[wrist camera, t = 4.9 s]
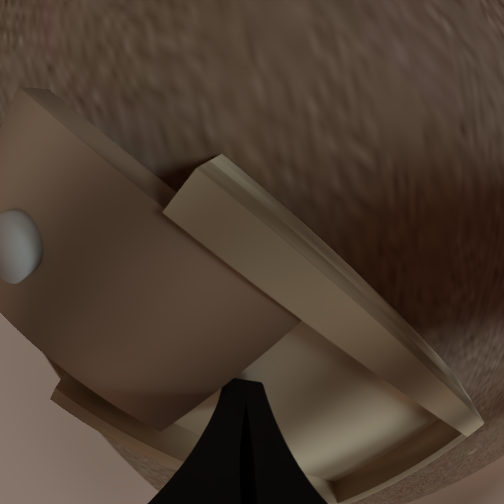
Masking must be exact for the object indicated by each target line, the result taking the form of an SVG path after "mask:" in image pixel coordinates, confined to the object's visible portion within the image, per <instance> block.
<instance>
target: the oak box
mask: <svg viewBox="0 0 504 504" xmlns="http://www.w3.org/2000/svg"><path fill="white" fill-rule="evenodd" d="M162 213H164V214H165V215H166V216H167V217H169V218H170V219H171V220H172V221H174V222H175V223H176V224H177V225H179V226H180V227H181V228H182V229H184V230H185V231H186V232H188V233H189V234H190V235H191V236H193V237H194V238H195V239H196V240H198V241H199V242H200V243H202V244H203V245H204V246H205V247H207V248H208V249H209V250H210V251H212V252H213V253H214V254H216V255H217V256H218V257H220V258H221V259H222V260H223V261H225V262H226V263H227V264H229V265H230V266H231V267H232V268H234V269H235V270H236V271H238V272H239V273H240V274H242V275H243V276H244V277H245V278H247V279H248V280H249V281H251V282H252V283H253V284H255V285H256V286H257V287H259V288H260V289H261V290H263V291H264V292H265V293H267V294H268V295H269V296H270V297H272V298H273V299H274V300H276V301H277V302H278V303H280V304H281V305H282V306H284V307H285V308H286V309H288V310H289V311H290V312H292V313H293V314H294V315H296V316H297V317H299V318H300V319H301V320H302V321H301V322H300V323H299V324H298V325H296V326H295V327H294V328H293V329H292V330H291V331H290V332H289V333H287V334H286V335H285V336H284V337H283V338H282V339H281V340H279V341H278V342H277V343H276V344H275V345H274V346H272V347H271V348H270V349H269V350H268V351H266V352H265V353H264V354H263V355H262V356H260V357H259V358H258V359H257V360H256V361H254V362H253V363H252V364H251V365H250V366H248V367H247V368H246V369H245V370H243V371H242V372H241V373H240V374H238V375H237V376H236V377H235V378H238V379H244V380H250V381H257V382H262V383H263V385H264V388H265V392H266V395H267V398H268V401H269V404H270V407H271V409H272V412H273V415H274V417H275V420H276V422H277V424H278V426H279V429H280V431H281V433H282V435H283V437H284V439H285V441H286V443H287V445H288V447H289V449H290V451H291V453H292V454H293V456H294V458H295V460H296V461H297V463H298V465H299V466H300V468H301V469H302V471H303V472H304V474H305V475H306V477H307V478H308V480H309V481H310V482H311V484H312V485H313V486H314V488H315V489H316V490H317V492H318V493H319V494H320V495H321V496H322V497H323V498H324V500H325V501H326V502H327V503H328V504H351V503H353V502H356V501H358V500H360V499H363V498H365V497H367V496H369V495H372V494H374V493H376V492H378V491H380V490H382V489H384V488H386V487H388V486H390V485H392V484H394V483H396V482H398V481H400V480H402V479H403V478H405V477H407V476H409V475H411V474H412V473H414V472H416V471H418V470H419V469H421V468H423V467H424V466H426V465H427V464H429V463H431V462H432V461H434V460H435V459H437V458H438V457H440V456H441V455H443V454H444V453H446V452H447V451H449V450H450V449H452V448H453V447H455V446H456V445H457V444H459V443H460V442H461V441H463V440H464V439H465V438H467V437H468V436H469V435H471V434H472V433H473V432H475V431H476V430H477V429H478V428H480V427H481V426H482V425H483V424H484V422H483V420H482V418H481V416H480V415H479V413H478V411H477V410H476V408H475V406H474V405H473V403H472V401H471V400H470V398H469V396H468V395H467V393H466V392H465V390H464V388H463V387H462V385H461V384H460V382H459V380H458V379H457V377H456V376H455V374H454V373H453V371H452V370H451V369H450V368H449V366H448V365H447V364H446V363H445V362H444V361H443V360H442V359H441V358H440V357H439V356H438V354H437V353H436V352H435V351H434V350H433V349H432V348H431V347H430V346H429V345H428V344H427V343H426V342H425V340H424V339H423V338H422V337H421V336H420V335H419V334H418V333H417V332H416V331H415V330H414V329H413V328H412V327H411V326H410V325H409V324H408V323H407V322H406V321H405V320H404V319H403V318H402V317H401V316H400V315H399V314H398V313H397V311H396V310H395V309H394V308H393V307H392V306H391V305H390V304H389V303H388V302H387V301H386V300H385V299H384V298H383V297H382V296H381V295H380V294H378V293H377V292H376V291H375V290H374V289H373V288H372V287H371V286H370V285H369V284H368V283H367V282H366V281H365V280H364V279H363V278H362V277H361V276H360V275H359V274H358V273H357V272H356V271H355V270H354V269H353V268H352V267H351V266H350V265H348V264H347V263H346V262H345V261H344V260H343V259H342V258H341V257H340V256H339V255H338V254H337V253H336V252H335V251H334V250H332V249H331V248H330V247H329V246H328V245H327V244H326V243H325V242H324V241H323V240H322V239H321V238H319V237H318V236H317V235H316V234H315V233H314V232H313V231H312V230H311V229H310V228H308V227H307V226H306V225H305V224H304V223H303V222H302V221H301V220H299V219H298V218H297V217H296V216H295V215H294V214H293V213H292V212H290V211H289V210H288V209H287V208H286V207H285V206H284V205H282V204H281V203H280V202H279V201H278V200H277V199H276V198H274V197H273V196H272V195H271V194H270V193H269V192H267V191H266V190H265V189H264V188H263V187H262V186H260V185H259V184H258V183H257V182H256V181H254V180H253V179H252V178H251V177H250V176H248V175H247V174H246V173H245V172H244V171H242V170H241V169H240V168H239V167H238V166H236V165H235V164H234V163H233V162H232V161H230V160H229V159H228V158H227V157H225V156H224V155H223V154H220V155H219V156H217V157H215V158H213V159H211V160H210V161H208V162H206V163H204V164H203V165H201V166H199V167H197V168H196V169H195V170H194V172H193V173H192V174H191V175H190V177H189V178H188V179H187V181H186V182H185V183H184V184H183V186H182V187H181V188H180V190H179V191H178V192H177V194H176V195H175V196H174V198H173V199H172V200H171V202H170V203H169V204H168V206H167V207H166V208H165V210H164V211H163V212H162ZM220 392H221V389H219V390H218V391H217V392H215V393H214V394H213V395H211V396H210V397H209V398H207V399H206V400H205V401H203V402H202V403H201V404H199V405H198V406H197V407H195V408H194V409H193V410H191V411H190V412H188V413H187V414H186V415H184V416H183V417H181V418H180V419H179V420H177V421H176V422H174V423H173V424H171V425H170V426H169V427H167V428H166V429H164V430H163V431H161V432H159V431H157V430H155V429H154V428H152V427H150V426H148V425H146V424H145V423H143V422H141V421H139V420H138V419H136V418H134V417H132V416H131V415H129V414H127V413H126V412H124V411H122V410H121V409H119V408H118V407H116V406H114V405H113V404H111V403H110V402H108V401H107V400H105V399H104V398H102V397H101V396H99V395H98V394H96V393H95V392H93V391H92V390H91V389H89V388H88V387H86V386H85V385H83V384H82V383H81V382H79V381H78V380H77V379H75V378H74V377H73V376H71V375H70V374H69V373H67V372H65V374H64V375H63V377H62V378H61V380H60V382H59V383H58V385H57V386H56V388H55V390H54V392H53V394H52V396H51V400H52V401H54V402H55V403H57V404H58V405H59V406H61V407H62V408H63V409H65V410H66V411H68V412H69V413H71V414H72V415H74V416H75V417H77V418H78V419H80V420H81V421H83V422H84V423H86V424H87V425H89V426H91V427H92V428H94V429H95V430H97V431H99V432H100V433H102V434H104V435H106V436H107V437H109V438H111V439H113V440H114V441H116V442H118V443H120V444H122V445H124V446H125V447H127V448H129V449H131V450H133V451H135V452H137V453H139V454H141V455H143V456H145V457H147V458H149V459H152V460H154V461H156V462H158V463H160V464H163V465H165V466H167V467H169V468H172V469H174V470H178V469H179V468H180V467H181V465H182V464H183V463H184V461H185V460H186V458H187V457H188V456H189V454H190V453H191V451H192V450H193V448H194V447H195V445H196V444H197V442H198V440H199V439H200V437H201V435H202V433H203V432H204V430H205V428H206V427H207V425H208V423H209V421H210V419H211V417H212V414H213V412H214V410H215V408H216V406H217V403H218V400H219V396H220Z"/></svg>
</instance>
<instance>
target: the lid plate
mask: <svg viewBox="0 0 504 504" xmlns="http://www.w3.org/2000/svg"><path fill="white" fill-rule="evenodd" d="M176 194H177V192H175V191H174V190H173V189H172V188H170V187H169V186H168V185H167V184H165V183H164V182H163V181H162V180H160V179H159V178H158V177H157V176H155V175H154V174H153V173H152V172H151V171H149V170H148V169H147V168H146V167H144V166H143V165H142V164H141V163H139V162H138V161H137V160H136V159H134V158H133V157H132V156H131V155H129V154H128V153H127V152H126V151H124V150H123V149H122V148H121V147H119V146H118V145H117V144H116V143H114V142H113V141H112V140H111V139H109V138H108V137H107V136H106V135H105V134H103V133H102V132H101V131H100V130H98V129H97V128H96V127H95V126H93V125H92V124H91V123H90V122H88V121H87V120H86V119H85V118H83V117H82V116H81V115H80V114H78V113H77V112H76V111H75V110H73V109H72V108H71V107H70V106H68V105H67V104H66V103H65V102H64V101H62V100H61V99H60V98H59V97H57V96H56V95H55V94H54V93H52V92H51V91H50V90H44V89H35V88H25V87H19V88H18V90H17V92H16V94H15V96H14V98H13V100H12V102H11V105H10V107H9V109H8V111H7V113H6V116H5V118H4V120H3V123H2V125H1V127H0V312H1V313H2V314H3V316H4V317H5V318H6V319H7V320H8V321H9V322H10V323H11V324H12V325H13V326H14V327H16V328H17V330H19V331H20V332H21V333H22V334H23V335H24V336H25V337H26V338H27V339H28V340H29V341H30V342H31V343H33V344H34V345H35V346H36V347H37V348H38V349H39V350H40V351H42V352H43V353H44V354H45V355H46V356H48V357H49V358H50V359H51V360H52V361H54V362H55V363H56V364H57V365H58V366H60V367H61V368H62V369H64V370H65V371H66V372H67V373H69V374H70V375H71V376H73V377H74V378H75V379H77V380H78V381H79V382H81V383H82V384H83V385H85V386H86V387H88V388H89V389H91V390H92V391H93V392H95V393H96V394H98V395H99V396H101V397H102V398H104V399H105V400H107V401H108V402H110V403H111V404H113V405H114V406H116V407H118V408H119V409H121V410H122V411H124V412H126V413H127V414H129V415H131V416H132V417H134V418H136V419H138V420H139V421H141V422H143V423H145V424H146V425H148V426H150V427H152V428H154V429H155V430H157V431H159V432H161V431H163V430H164V429H166V428H167V427H169V426H170V425H171V424H173V423H174V422H176V421H177V420H179V419H180V418H181V417H183V416H184V415H186V414H187V413H188V412H190V411H191V410H193V409H194V408H195V407H197V406H198V405H199V404H201V403H202V402H203V401H205V400H206V399H207V398H209V397H210V396H211V395H213V394H214V393H215V392H217V391H218V390H219V389H221V388H222V387H223V386H224V385H226V384H227V383H228V382H230V381H231V380H232V379H233V378H235V377H236V376H237V375H238V374H240V373H241V372H242V371H243V370H245V369H246V368H247V367H248V366H250V365H251V364H252V363H253V362H254V361H256V360H257V359H258V358H259V357H260V356H262V355H263V354H264V353H265V352H266V351H268V350H269V349H270V348H271V347H272V346H274V345H275V344H276V343H277V342H278V341H279V340H281V339H282V338H283V337H284V336H285V335H286V334H287V333H289V332H290V331H291V330H292V329H293V328H294V327H295V326H296V325H298V324H299V323H300V322H301V321H302V320H301V319H300V318H299V317H297V316H296V315H294V314H293V313H292V312H290V311H289V310H288V309H286V308H285V307H284V306H282V305H281V304H280V303H278V302H277V301H276V300H274V299H273V298H272V297H270V296H269V295H268V294H267V293H265V292H264V291H263V290H261V289H260V288H259V287H257V286H256V285H255V284H253V283H252V282H251V281H249V280H248V279H247V278H245V277H244V276H243V275H242V274H240V273H239V272H238V271H236V270H235V269H234V268H232V267H231V266H230V265H229V264H227V263H226V262H225V261H223V260H222V259H221V258H220V257H218V256H217V255H216V254H214V253H213V252H212V251H210V250H209V249H208V248H207V247H205V246H204V245H203V244H202V243H200V242H199V241H198V240H196V239H195V238H194V237H193V236H191V235H190V234H189V233H188V232H186V231H185V230H184V229H182V228H181V227H180V226H179V225H177V224H176V223H175V222H174V221H172V220H171V219H170V218H169V217H167V216H166V215H165V214H164V213H162V212H163V211H164V210H165V208H166V207H167V206H168V204H169V203H170V202H171V200H172V199H173V198H174V196H175V195H176Z"/></svg>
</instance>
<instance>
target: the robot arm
mask: <svg viewBox="0 0 504 504" xmlns="http://www.w3.org/2000/svg"><path fill="white" fill-rule="evenodd" d="M148 504H328V503H327V502H326V501H325V500H324V498H323V497H322V496H321V495H320V494H319V493H318V492H317V490H316V489H315V488H314V486H313V485H312V484H311V482H310V481H309V480H308V478H307V477H306V475H305V474H304V472H303V471H302V469H301V468H300V466H299V465H298V463H297V461H296V460H295V458H294V456H293V454H292V453H291V451H290V449H289V447H288V445H287V443H286V441H285V439H284V437H283V435H282V433H281V431H280V429H279V426H278V424H277V422H276V420H275V417H274V415H273V412H272V409H271V407H270V404H269V401H268V398H267V395H266V392H265V388H264V385H263V383H262V382H257V381H250V380H244V379H238V378H233V379H232V380H231V381H230V382H228V383H227V384H226V385H224V386H223V387H222V388H221V392H220V396H219V400H218V403H217V406H216V408H215V410H214V412H213V414H212V417H211V419H210V421H209V423H208V425H207V427H206V428H205V430H204V432H203V433H202V435H201V437H200V439H199V440H198V442H197V444H196V445H195V447H194V448H193V450H192V451H191V453H190V454H189V456H188V457H187V458H186V460H185V461H184V463H183V464H182V465H181V467H180V468H179V469H178V470H177V472H176V473H175V474H174V475H173V477H172V478H171V479H170V480H169V481H168V483H167V484H166V485H165V486H164V487H163V488H162V489H161V490H160V491H159V492H158V494H157V495H156V496H155V497H154V498H153V499H152V500H151V501H150V502H149V503H148Z"/></svg>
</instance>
